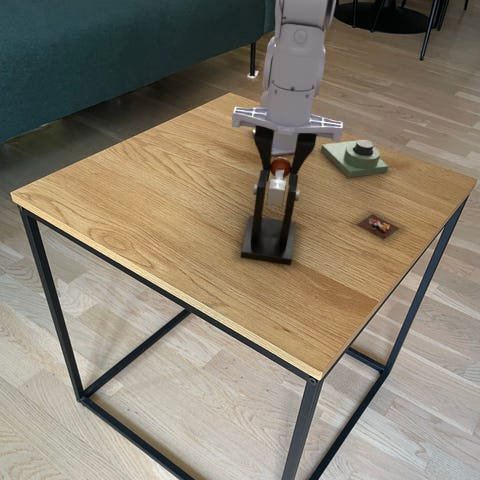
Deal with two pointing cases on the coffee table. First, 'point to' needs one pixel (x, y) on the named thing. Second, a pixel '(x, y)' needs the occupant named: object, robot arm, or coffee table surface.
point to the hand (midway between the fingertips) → (278, 180)
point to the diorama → (378, 226)
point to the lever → (278, 181)
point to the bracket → (271, 227)
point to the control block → (354, 159)
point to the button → (364, 147)
